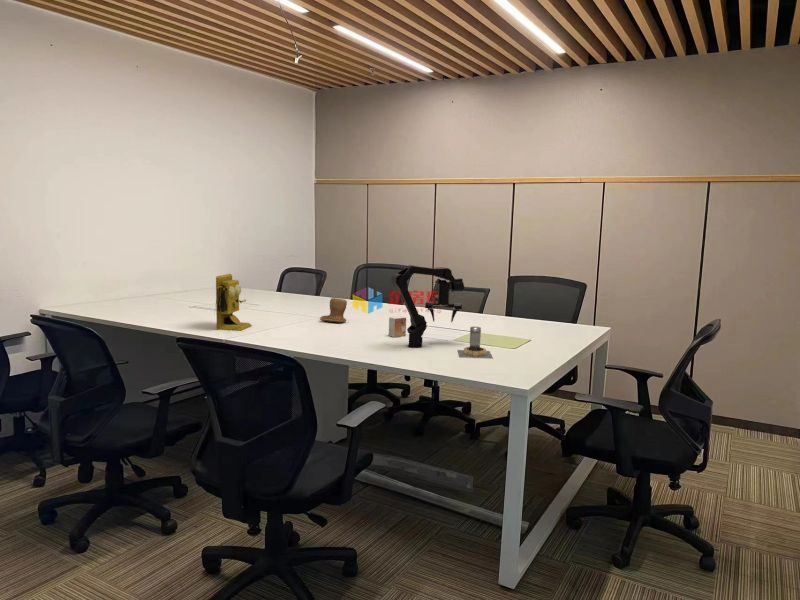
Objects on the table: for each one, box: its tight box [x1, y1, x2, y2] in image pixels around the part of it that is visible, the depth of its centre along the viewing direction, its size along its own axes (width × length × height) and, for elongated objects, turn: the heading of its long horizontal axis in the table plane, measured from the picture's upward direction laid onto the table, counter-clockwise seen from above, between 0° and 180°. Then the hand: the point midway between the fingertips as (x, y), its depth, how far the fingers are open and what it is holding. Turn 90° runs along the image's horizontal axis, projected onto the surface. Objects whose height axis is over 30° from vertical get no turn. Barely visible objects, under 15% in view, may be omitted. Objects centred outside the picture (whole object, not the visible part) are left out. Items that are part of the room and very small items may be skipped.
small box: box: [388, 316, 407, 338], centre depth 328 cm, size 8×6×10 cm
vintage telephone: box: [214, 273, 253, 332], centre depth 336 cm, size 31×14×30 cm, turn 171°
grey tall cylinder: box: [469, 326, 482, 351], centre depth 286 cm, size 5×5×13 cm
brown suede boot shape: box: [319, 297, 348, 323], centre depth 367 cm, size 15×12×15 cm
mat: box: [456, 349, 494, 360], centre depth 287 cm, size 16×16×1 cm
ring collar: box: [463, 346, 487, 357], centre depth 287 cm, size 10×10×2 cm
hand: (442, 321), depth 308 cm, fingers open, 9 cm apart
